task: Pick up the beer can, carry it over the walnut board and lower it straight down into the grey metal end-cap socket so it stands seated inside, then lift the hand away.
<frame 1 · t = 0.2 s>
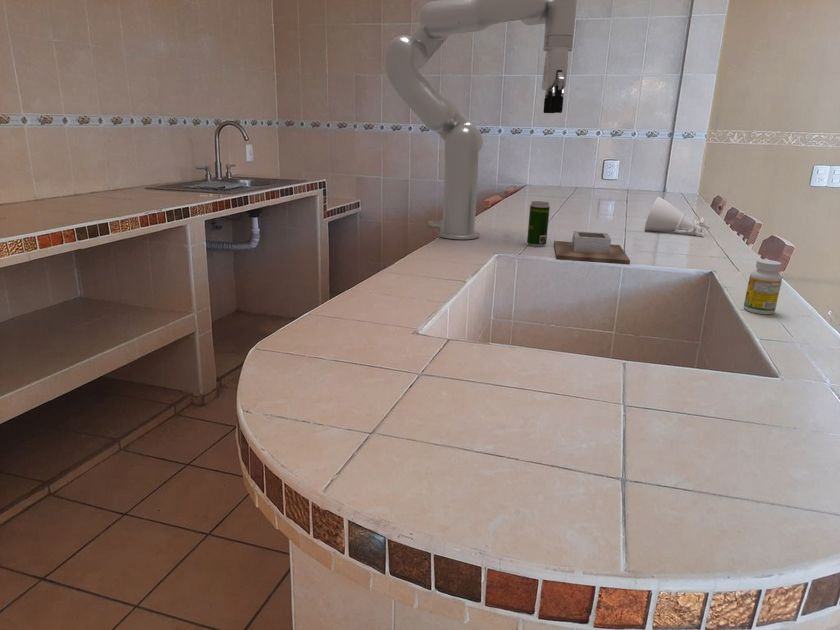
hand: (552, 112, 163), 36 cm above the counter, tool pointing down, fingers open, 9 cm apart
cap board: (589, 253, 161), on the counter
rocket engine: (673, 234, 195), on the counter
supplement bottle: (758, 311, 115), on the counter
beer can: (536, 245, 169), on the counter
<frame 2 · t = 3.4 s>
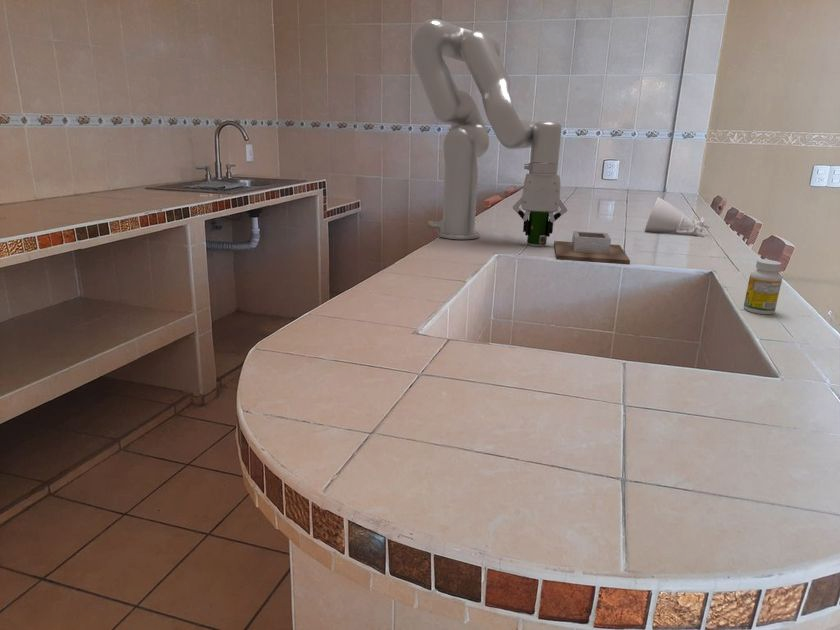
hand: (537, 234, 168), 3 cm above the counter, tool pointing down, fingers closed on beer can, 5 cm apart
beer can: (536, 245, 169), on the counter, touching gripper
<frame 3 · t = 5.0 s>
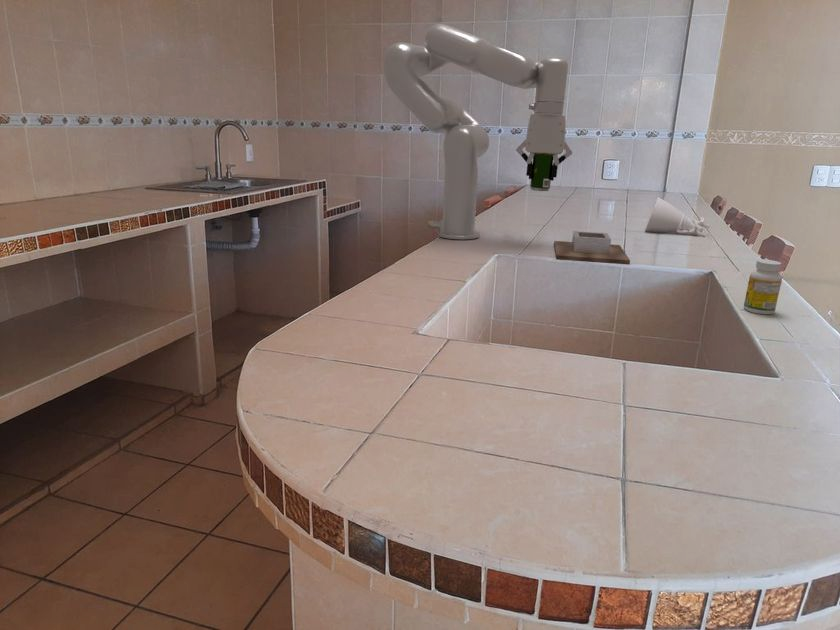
hand: (540, 178, 164), 18 cm above the counter, tool pointing down, fingers closed on beer can, 5 cm apart
beer can: (539, 190, 165), point 15 cm above the counter, touching gripper
everything else where it was.
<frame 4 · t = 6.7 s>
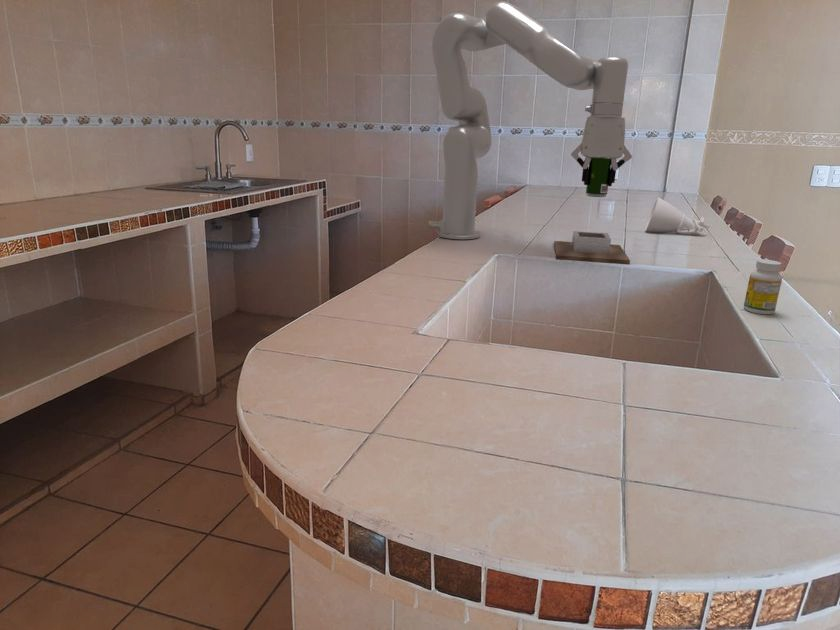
hand: (597, 184, 155), 18 cm above the counter, tool pointing down, fingers closed on beer can, 5 cm apart
beer can: (596, 196, 156), point 15 cm above the counter, touching gripper
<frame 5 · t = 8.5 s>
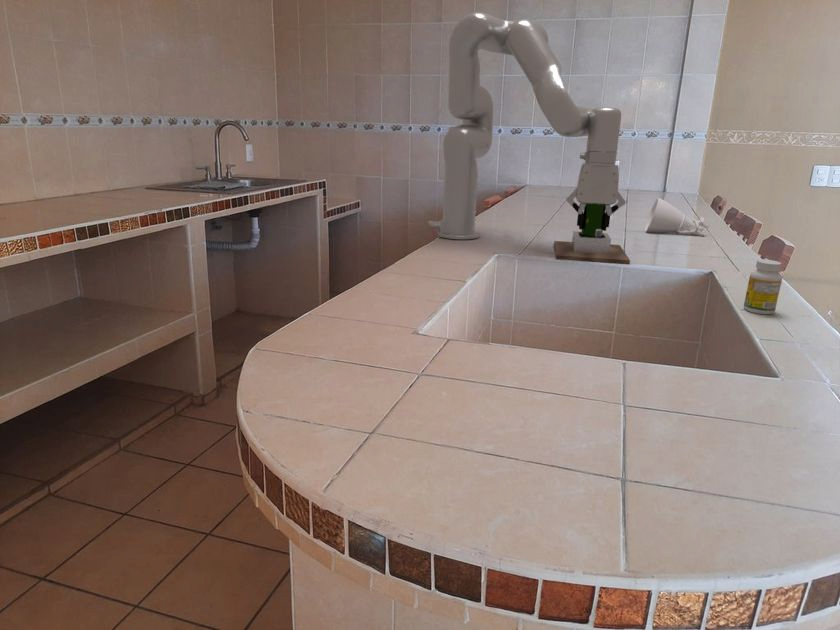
hand: (592, 228, 158), 7 cm above the counter, tool pointing down, fingers closed on beer can, 5 cm apart
beer can: (590, 240, 159), point 4 cm above the counter, touching gripper
when the fingers open (5 cm above the counter, at t = 10.0 s): beer can drops 1 cm, resting on cap board.
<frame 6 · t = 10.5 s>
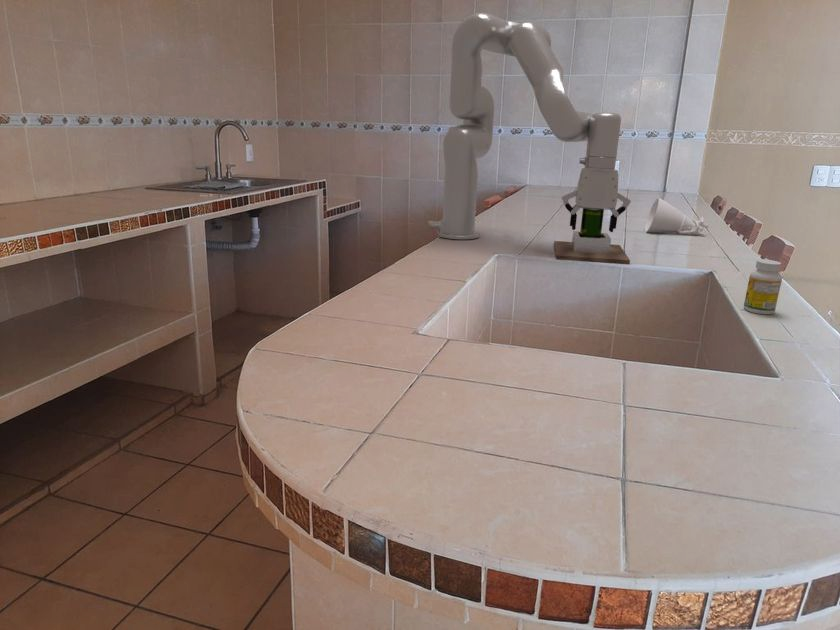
hand: (592, 230, 159), 6 cm above the counter, tool pointing down, fingers open, 9 cm apart
beer can: (588, 250, 160), point 1 cm above the counter, touching cap board
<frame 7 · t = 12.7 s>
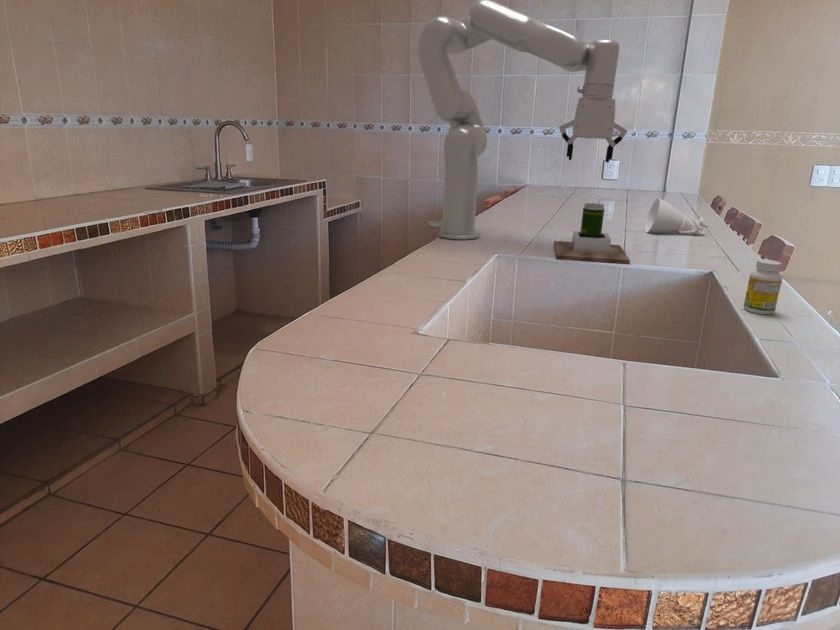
hand: (588, 160, 160), 24 cm above the counter, tool pointing down, fingers open, 9 cm apart
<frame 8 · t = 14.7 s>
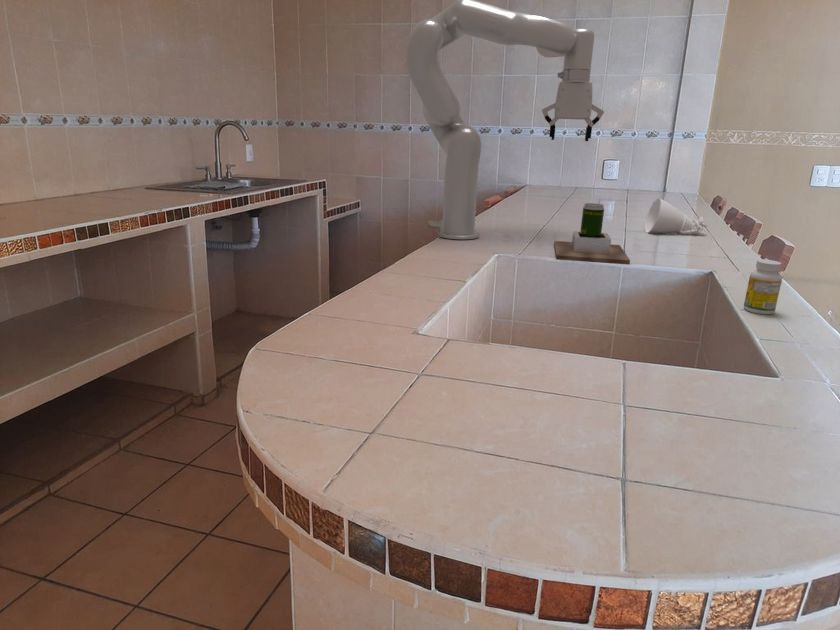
hand: (569, 140, 174), 28 cm above the counter, tool pointing down, fingers open, 9 cm apart
at the end: beer can 0.3 cm off-centre on the cap board, point 1.1 cm above the cap board's base; beer can tilted 0°; the gripper is holding nothing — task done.
